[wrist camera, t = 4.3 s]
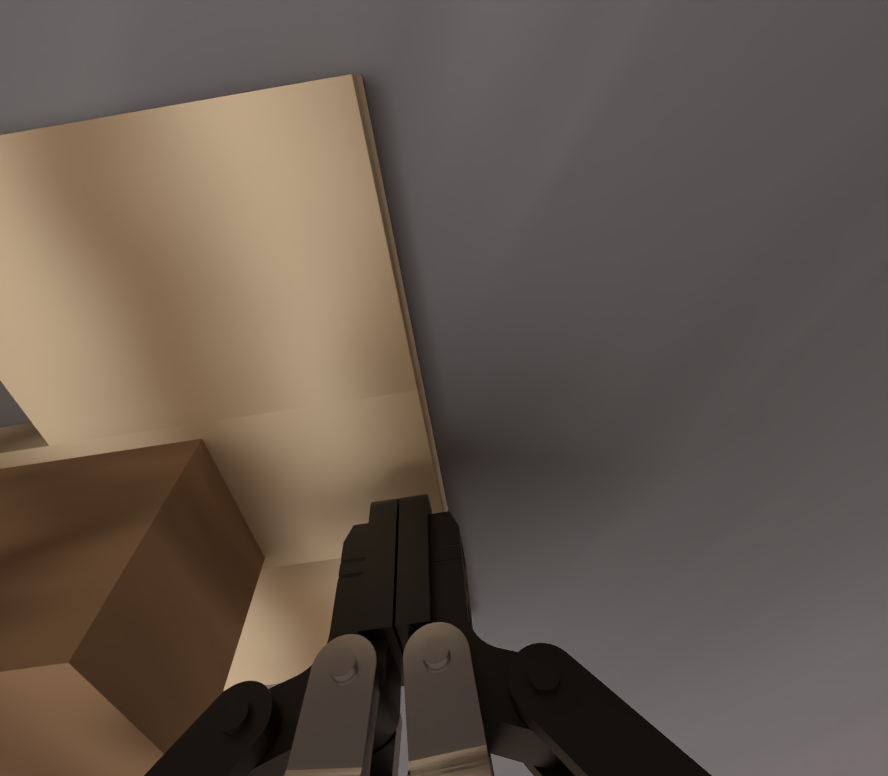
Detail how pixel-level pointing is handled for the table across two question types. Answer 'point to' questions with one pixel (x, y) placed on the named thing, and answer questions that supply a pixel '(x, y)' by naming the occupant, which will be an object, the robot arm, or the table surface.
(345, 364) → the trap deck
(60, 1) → the table surface
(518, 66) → the table surface
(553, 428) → the table surface
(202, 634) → the walnut block
